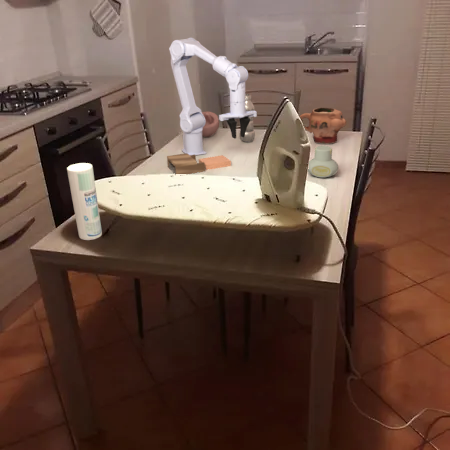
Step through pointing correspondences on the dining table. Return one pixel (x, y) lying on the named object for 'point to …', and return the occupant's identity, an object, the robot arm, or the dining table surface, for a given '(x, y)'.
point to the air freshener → (323, 163)
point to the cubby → (184, 164)
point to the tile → (215, 162)
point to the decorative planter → (324, 124)
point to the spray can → (85, 200)
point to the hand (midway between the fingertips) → (238, 137)
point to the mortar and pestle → (210, 124)
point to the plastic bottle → (250, 129)
